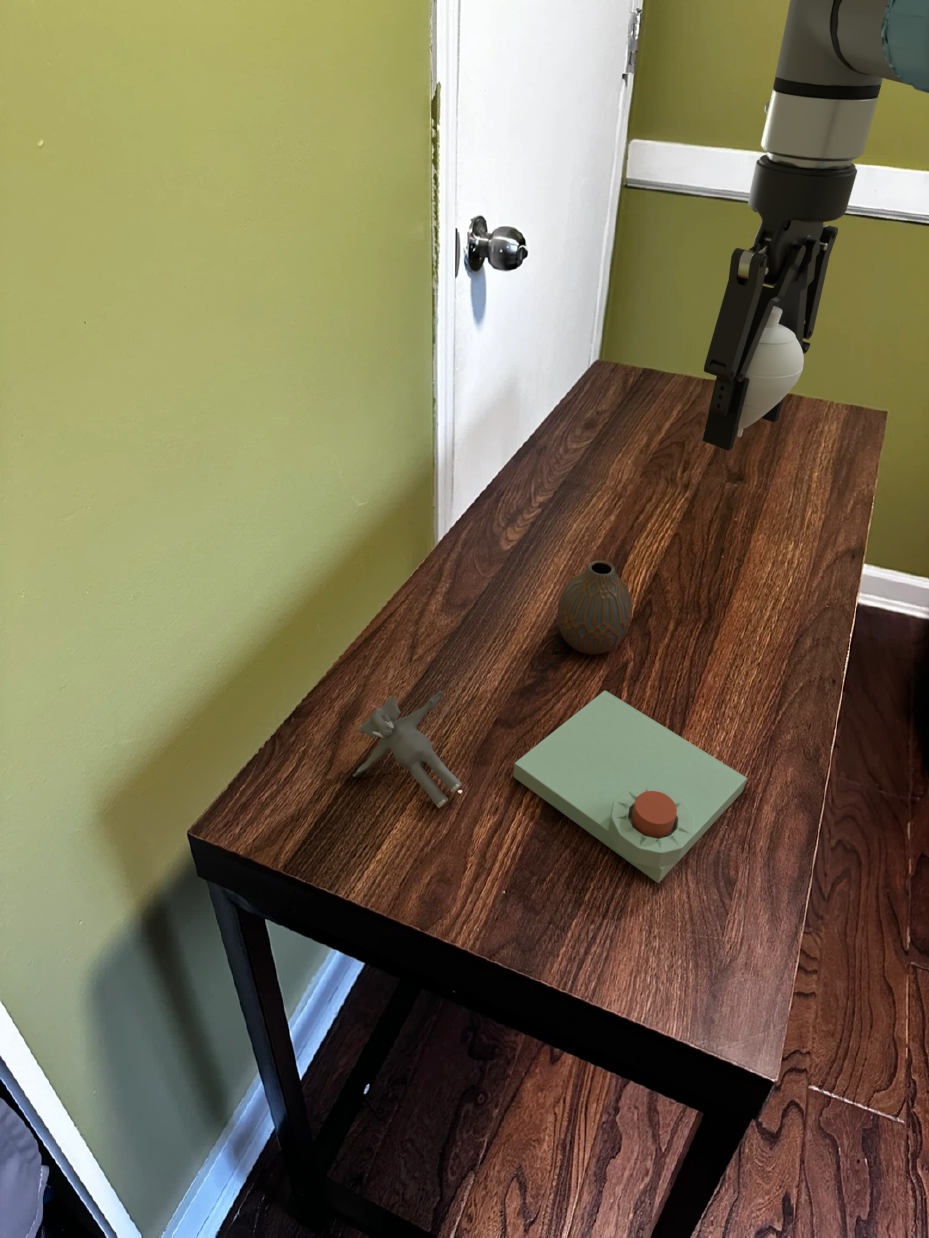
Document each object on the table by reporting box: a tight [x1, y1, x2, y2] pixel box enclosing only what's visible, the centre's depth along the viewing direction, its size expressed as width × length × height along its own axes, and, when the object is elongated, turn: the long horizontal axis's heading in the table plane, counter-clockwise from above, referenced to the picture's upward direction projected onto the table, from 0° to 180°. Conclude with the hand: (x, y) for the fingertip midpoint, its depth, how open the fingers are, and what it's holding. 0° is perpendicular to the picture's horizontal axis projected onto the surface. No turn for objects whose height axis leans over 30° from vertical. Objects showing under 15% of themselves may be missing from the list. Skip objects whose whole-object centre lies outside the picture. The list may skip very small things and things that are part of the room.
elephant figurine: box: [352, 689, 463, 809], centre depth 67 cm, size 10×6×9 cm
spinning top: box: [714, 306, 805, 438], centre depth 77 cm, size 8×8×12 cm
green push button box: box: [512, 690, 748, 884], centre depth 67 cm, size 14×13×4 cm
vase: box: [556, 559, 633, 656], centre depth 80 cm, size 7×7×9 cm
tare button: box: [632, 791, 677, 837], centre depth 62 cm, size 3×3×2 cm
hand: (741, 430), depth 80 cm, fingers closed on spinning top, 8 cm apart
